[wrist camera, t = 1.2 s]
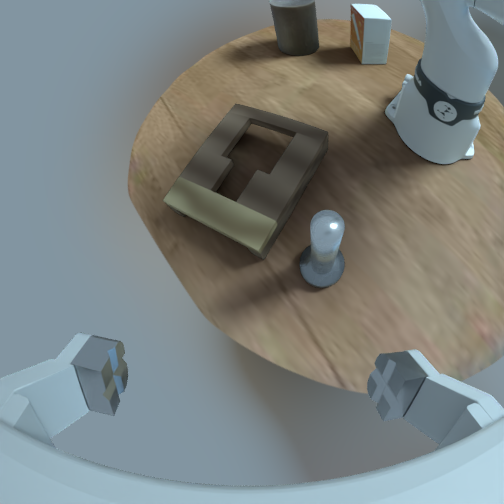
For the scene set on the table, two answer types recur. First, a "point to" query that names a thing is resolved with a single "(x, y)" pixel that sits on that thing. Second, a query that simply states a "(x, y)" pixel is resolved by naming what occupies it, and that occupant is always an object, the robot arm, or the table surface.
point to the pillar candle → (295, 26)
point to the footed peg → (323, 250)
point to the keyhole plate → (259, 187)
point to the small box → (370, 33)
